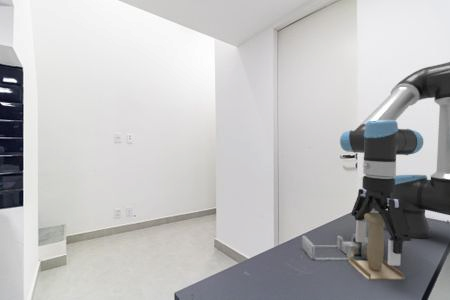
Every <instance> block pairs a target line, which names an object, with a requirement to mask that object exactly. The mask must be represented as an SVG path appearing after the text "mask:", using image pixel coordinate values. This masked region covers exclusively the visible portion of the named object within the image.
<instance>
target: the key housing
mask: <svg viewBox="0 0 450 300" xmlns="http://www.w3.org/2000/svg"><path fill="white" fill-rule="evenodd" d="M350 242H356V233H352V236H350ZM361 243H363V244H362V245H361V254H360V257H361V258H362V259H364V260H365V259H366V260H368V258H367V243H368V236H366V242H361Z"/></svg>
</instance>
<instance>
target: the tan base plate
mask: <svg viewBox="0 0 450 300" xmlns="http://www.w3.org/2000/svg"><path fill="white" fill-rule="evenodd" d="M347 261H348V263H349V264H350V265H351V266H352V267H354V269H356V270H357V271H358V273H360V275H362V276H363V277H364V278H365V279H366V280H377V281H378V280H405V279H406V277H405V275H404V273H403V272H401V270H399V269H398V268H397V267H394V265H388V261H387V260H385V259H383V263H382V266H381V267H382V268H381V270H380V271H377V270H375V271H374V270H373V269H370V268H369V266H368V260H356V259H353V258H352V257H350V260H347Z"/></svg>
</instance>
